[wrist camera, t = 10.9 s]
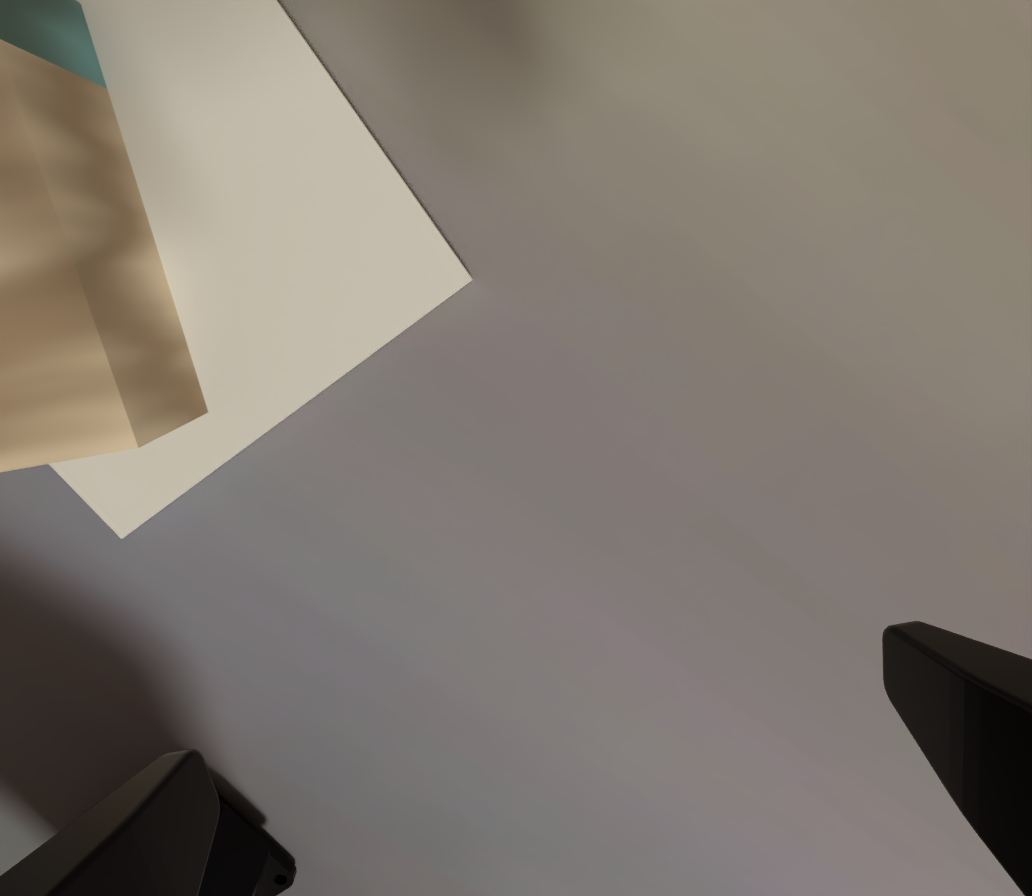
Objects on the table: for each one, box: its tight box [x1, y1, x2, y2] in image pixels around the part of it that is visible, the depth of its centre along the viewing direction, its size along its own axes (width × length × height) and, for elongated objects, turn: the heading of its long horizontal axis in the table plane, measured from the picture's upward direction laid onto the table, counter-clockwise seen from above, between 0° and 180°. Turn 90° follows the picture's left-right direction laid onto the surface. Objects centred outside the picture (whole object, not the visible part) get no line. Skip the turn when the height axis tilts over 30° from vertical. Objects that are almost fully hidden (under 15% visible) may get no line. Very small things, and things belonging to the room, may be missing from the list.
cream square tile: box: [49, 0, 473, 539], centre depth 18 cm, size 14×15×1 cm
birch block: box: [0, 0, 208, 472], centre depth 16 cm, size 4×4×11 cm
